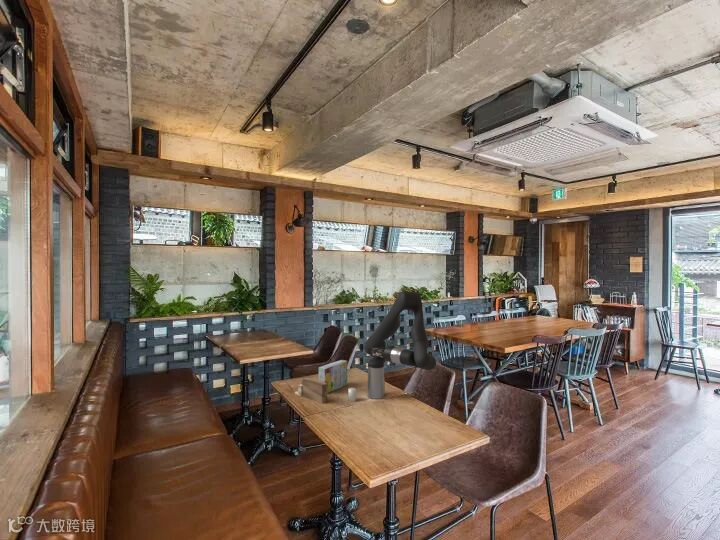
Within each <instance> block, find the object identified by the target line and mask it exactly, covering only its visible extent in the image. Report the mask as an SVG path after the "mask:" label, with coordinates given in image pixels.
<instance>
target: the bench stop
mask: <svg viewBox="0 0 720 540" xmlns="http://www.w3.org/2000/svg"><path fill="white" fill-rule="evenodd" d="M310 378H311V377H310ZM311 379H313V378H311ZM294 395H296V396H299V397H303V396H302V383H300V384H298V385H297V391H294Z"/></svg>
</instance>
